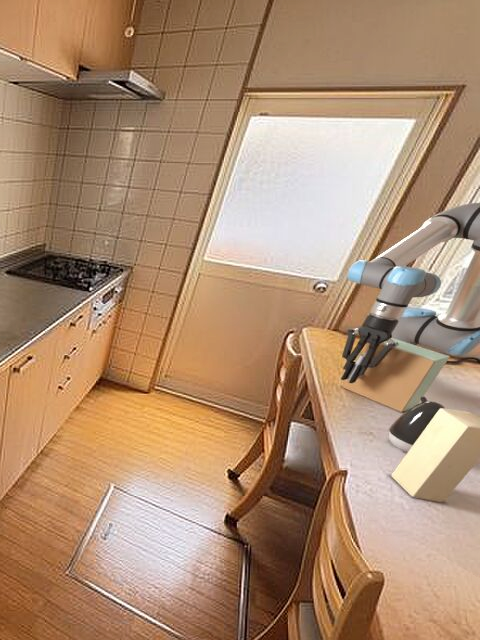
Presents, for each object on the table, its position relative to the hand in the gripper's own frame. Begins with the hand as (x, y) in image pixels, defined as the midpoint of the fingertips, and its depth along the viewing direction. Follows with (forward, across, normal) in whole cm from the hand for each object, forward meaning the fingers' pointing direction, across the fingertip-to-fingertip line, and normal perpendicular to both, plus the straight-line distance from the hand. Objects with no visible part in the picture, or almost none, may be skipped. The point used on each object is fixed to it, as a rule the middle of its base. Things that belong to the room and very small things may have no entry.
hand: (347, 380), depth 144 cm
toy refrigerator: (+6, +35, -38) cm, 52 cm away
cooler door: (+5, +6, +4) cm, 9 cm away
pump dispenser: (+6, +25, -18) cm, 31 cm away
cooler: (+5, +6, +13) cm, 15 cm away
